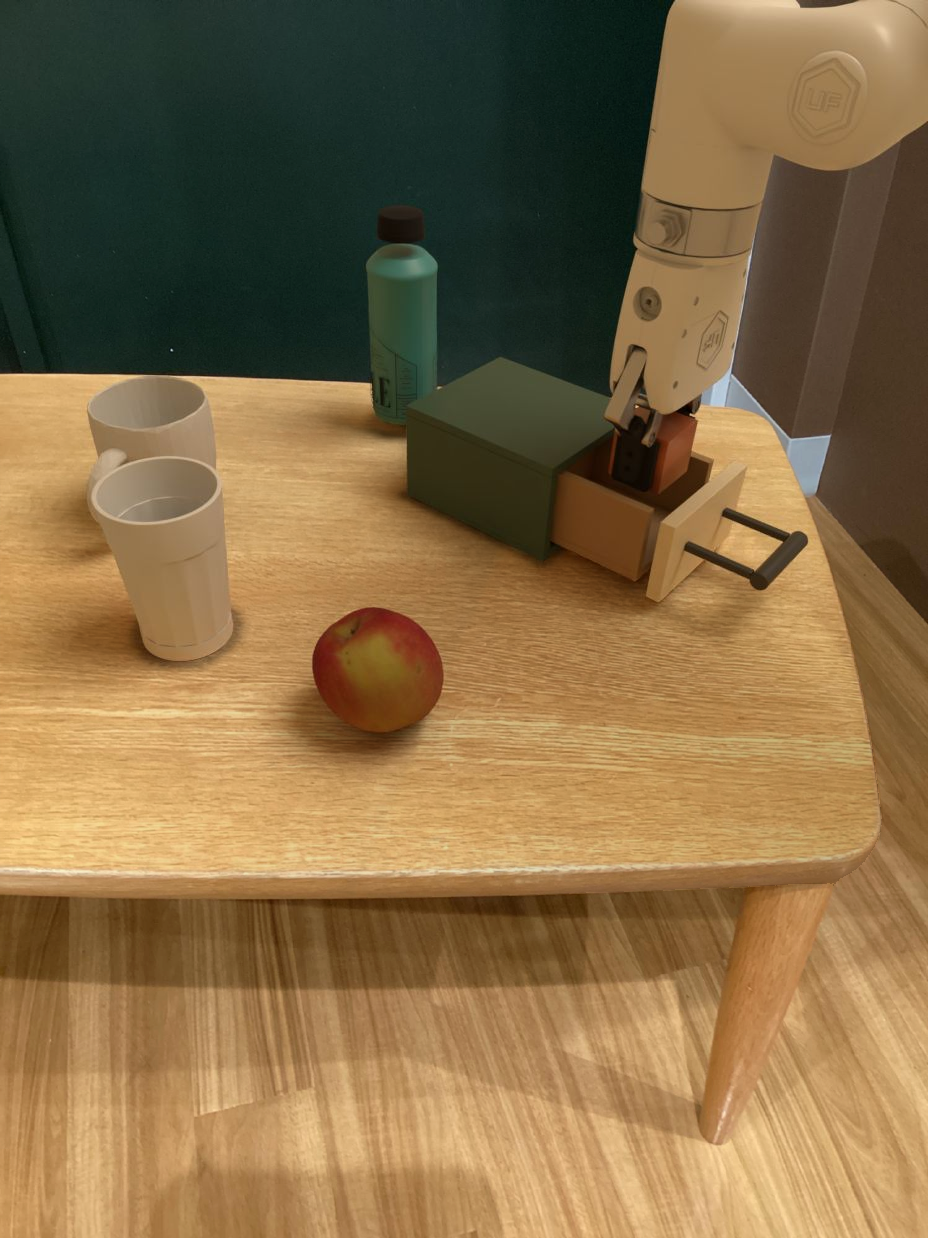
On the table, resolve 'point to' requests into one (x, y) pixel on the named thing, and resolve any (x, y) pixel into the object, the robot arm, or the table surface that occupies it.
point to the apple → (377, 670)
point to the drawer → (660, 522)
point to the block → (668, 447)
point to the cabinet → (501, 449)
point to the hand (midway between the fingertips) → (648, 468)
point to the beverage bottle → (401, 314)
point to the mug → (149, 424)
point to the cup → (170, 552)
